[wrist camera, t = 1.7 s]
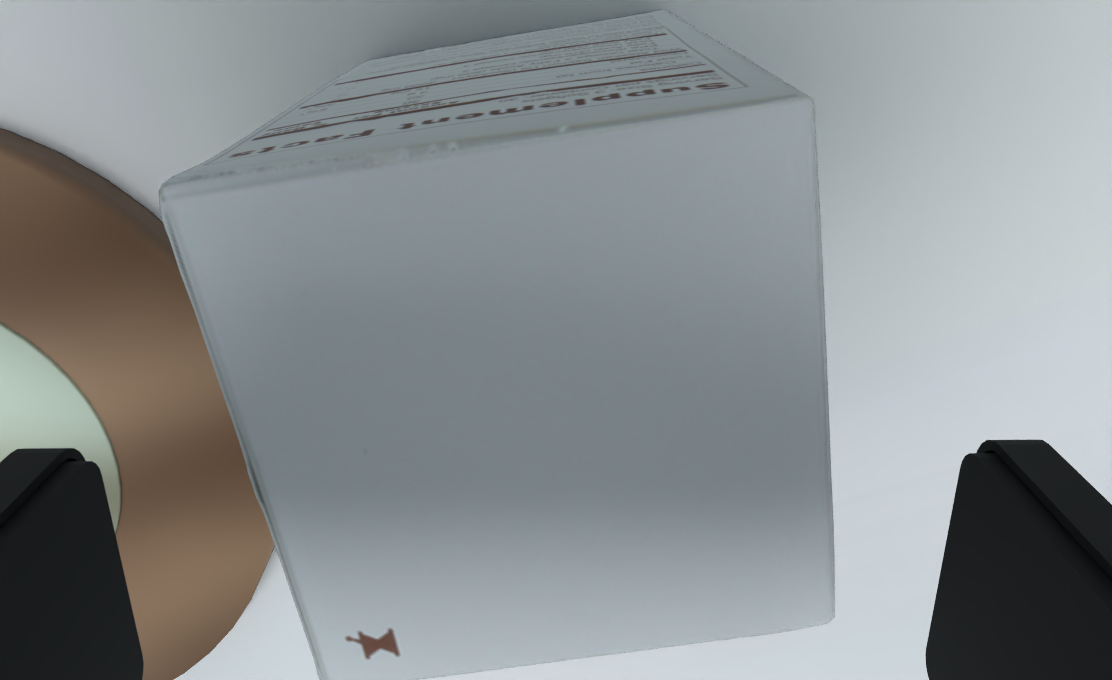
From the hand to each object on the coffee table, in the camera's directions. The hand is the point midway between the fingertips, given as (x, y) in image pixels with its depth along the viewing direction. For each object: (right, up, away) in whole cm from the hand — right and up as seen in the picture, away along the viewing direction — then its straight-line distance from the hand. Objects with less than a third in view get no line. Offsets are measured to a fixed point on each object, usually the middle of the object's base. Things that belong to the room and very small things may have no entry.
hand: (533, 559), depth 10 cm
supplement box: (0, +6, +13) cm, 14 cm away
